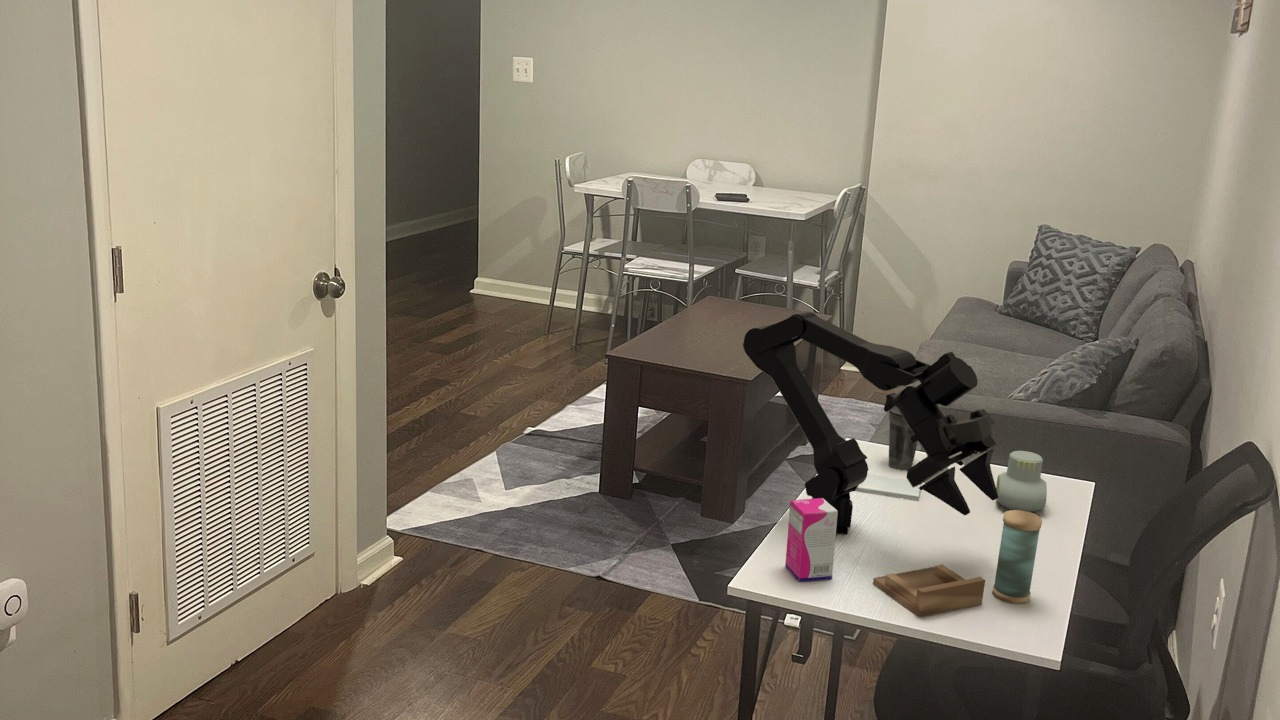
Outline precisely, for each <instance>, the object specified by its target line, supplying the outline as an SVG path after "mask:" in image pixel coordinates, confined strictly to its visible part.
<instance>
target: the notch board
mask: <svg viewBox="0 0 1280 720" xmlns="http://www.w3.org/2000/svg"><path fill="white" fill-rule="evenodd" d="M872 584H873V585H874V586H875V587H876V588H878V589H880V590H881V591H882V592H884V593H885V594H886V595H888V596H889V597H891V598H892V599H893V600H895V601H897V602H898V603H899V604H901V606H903V607H905V608H906V609H907V610H909V611H910V612H911V613H913V614H914V615H915V616H917V617H918V618H922V617H927V616H932V615H937V614H942V613H946V612H947V613H948V612H951V611H955V610H960V609H966V608H971V607H976V606H979V605H983V599H984V592H985V585H986V579H984V578H983V577H982V576H976V577H971V578H964V577H963V576H961V575H960V574H958V573H957V572H955V571H953V570H952V569H951V568H949V567H947V566H945V565H944V564H937V565H934V566H931V567H925V568H920V569H914V570H910V571H904V572H898V573H894V572H893V573H888V574H885V575H884V576H878V577H873V582H872Z"/></svg>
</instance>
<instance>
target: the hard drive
mask: <svg viewBox="0 0 1280 720" xmlns="http://www.w3.org/2000/svg"><path fill="white" fill-rule="evenodd" d="M921 486H922V484H920V485H918V486H916V487H914V488H913V487H912V486H911V484H910V483H909V481H908V479H907V478H906V479H904V478H899V477H891V476H885V475H880V474H879V475H877V474H872V473H871V474H870V473H867V477H866V479H865V481H864V482H863V483H861V484H859V485H858V487H857V489H856V491H855V492H857V493H859V492H860V493H863V494H864V493H865V494H869V495H870V494H871V495H876V496H883V497H889V498H896V499H901V498H903V500H909V501H913V502H914V501H917V502H919V500H920V494H921V490H920V489H919V487H921Z"/></svg>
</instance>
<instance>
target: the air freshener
mask: <svg viewBox="0 0 1280 720" xmlns="http://www.w3.org/2000/svg"><path fill="white" fill-rule="evenodd" d="M1043 461H1044V460H1043V458H1042V456H1041V455H1040V454H1038V453H1035V452H1032V451H1027V450H1026V451H1025V450H1014V451H1012V452H1010V453H1009V455H1008V463H1007V468H1006V472H1002V473H1000V474H998V476H997V480H996V484H995V486H996V489H997V493H998V498H997V499H995V501H996V502H997V503H999V504H1000V505H1001V506H1003V507H1005V508H1007V509H1008V510H1021V511H1027V512H1030V513H1033V512H1036V511H1039V510H1042V509H1043V508H1045V506H1046V504H1047V494H1048V493H1047V492H1048V488H1047V482H1046V481H1045V480H1044V479H1043V478H1041V475H1042V468H1043V464H1044V463H1043Z"/></svg>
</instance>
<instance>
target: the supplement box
mask: <svg viewBox="0 0 1280 720" xmlns="http://www.w3.org/2000/svg"><path fill="white" fill-rule="evenodd" d="M789 502H790V503H789V515H788V527H787V528H788V529H787V539H786V554H785V567H786V568H787V569H788V571H789V572H790V574H792V575H793V576H794V578H795V579H796V580H797V581H798V582H801V583H802V582H812V581H813V582H814V581H823V580H833V572H834V571H833V570H834V562H835V560H834V559H835V549H836V548H835V547H836V536H837V534H836V527H837V515H838V511H837V510H836V509H835V508H834V507H832V506H831V505H830V504H829V503H828V502H827V501H826V500H824V499H823V498H816V499H812V498H809V499H808V498H806V499H792V500H790V501H789Z"/></svg>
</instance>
